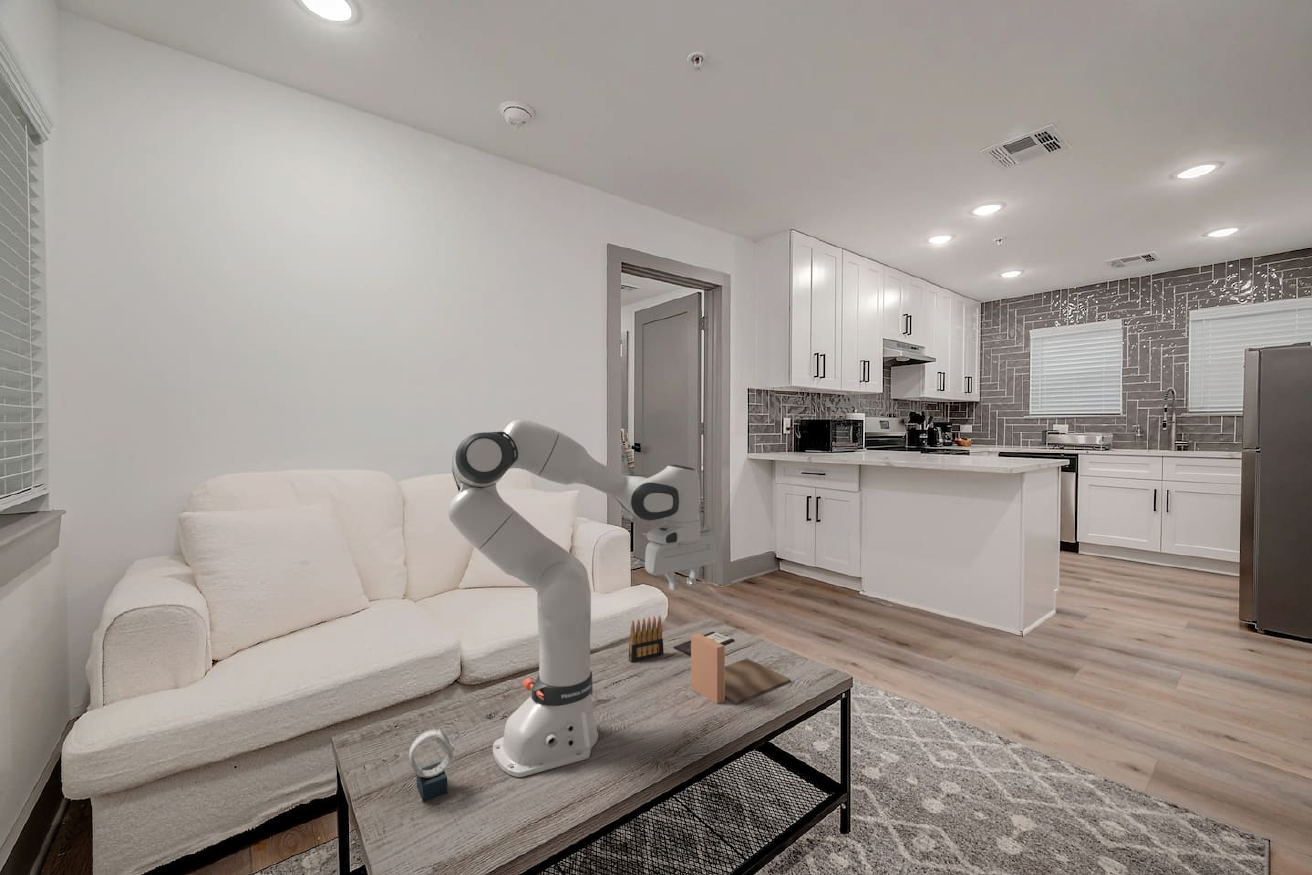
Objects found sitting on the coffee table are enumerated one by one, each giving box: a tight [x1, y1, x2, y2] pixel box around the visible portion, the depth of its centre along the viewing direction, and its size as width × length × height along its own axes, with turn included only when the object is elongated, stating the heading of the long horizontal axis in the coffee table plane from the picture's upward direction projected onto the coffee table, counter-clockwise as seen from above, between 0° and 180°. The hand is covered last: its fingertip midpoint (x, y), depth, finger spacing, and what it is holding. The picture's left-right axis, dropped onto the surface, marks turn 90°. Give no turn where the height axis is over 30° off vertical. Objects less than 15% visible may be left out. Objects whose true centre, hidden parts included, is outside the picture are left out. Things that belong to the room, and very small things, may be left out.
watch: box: [408, 728, 456, 803], centre depth 104 cm, size 6×8×11 cm
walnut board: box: [725, 658, 791, 705], centre depth 147 cm, size 20×16×1 cm
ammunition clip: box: [628, 614, 664, 664], centre depth 161 cm, size 11×2×12 cm, turn 118°
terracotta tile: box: [690, 632, 726, 705], centre depth 140 cm, size 3×10×14 cm, turn 36°
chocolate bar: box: [673, 631, 735, 657], centre depth 171 cm, size 9×1×18 cm
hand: (682, 587), depth 134 cm, fingers open, 4 cm apart
